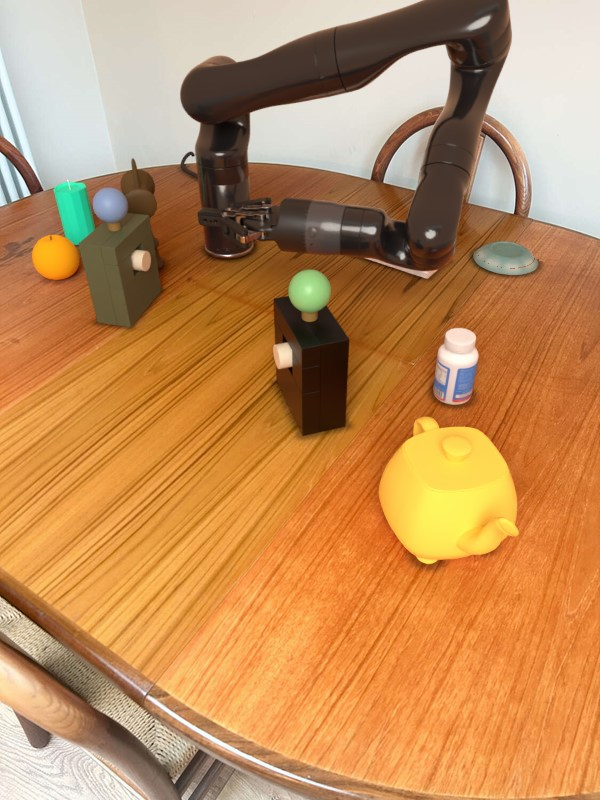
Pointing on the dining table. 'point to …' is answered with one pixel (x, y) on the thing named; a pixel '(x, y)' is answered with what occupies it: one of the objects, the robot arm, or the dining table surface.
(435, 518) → the teapot
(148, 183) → the kendama
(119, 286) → the olive block with peg
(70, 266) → the orange fruit
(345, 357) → the dark block with knob
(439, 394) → the pill bottle
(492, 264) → the saucer
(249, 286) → the dining table surface
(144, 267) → the peach round puck
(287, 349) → the stubby beige cylinder
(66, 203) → the candle
